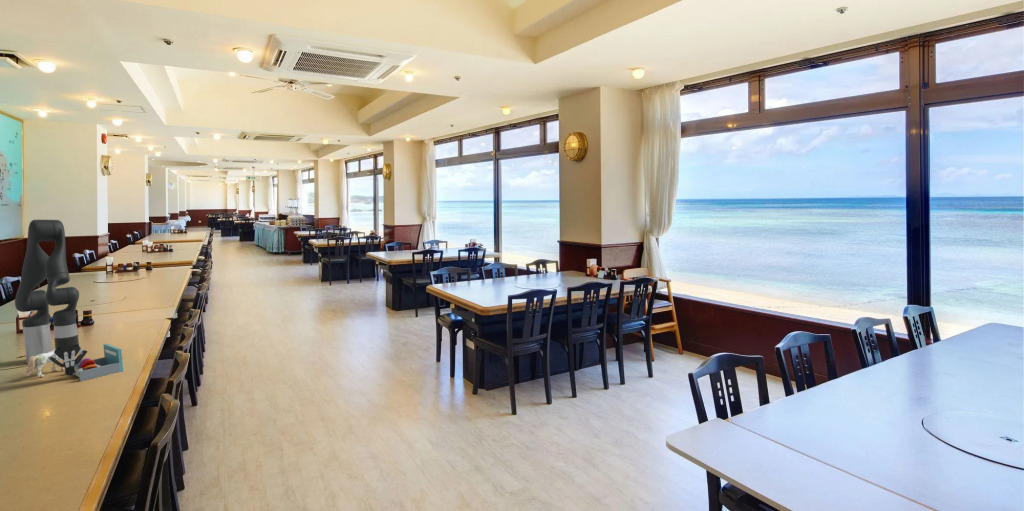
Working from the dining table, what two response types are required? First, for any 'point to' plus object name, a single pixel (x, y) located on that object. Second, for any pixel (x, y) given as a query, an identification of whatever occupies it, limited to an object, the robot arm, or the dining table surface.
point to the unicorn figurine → (41, 363)
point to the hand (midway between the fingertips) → (69, 375)
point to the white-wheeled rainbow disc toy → (85, 366)
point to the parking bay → (104, 364)
